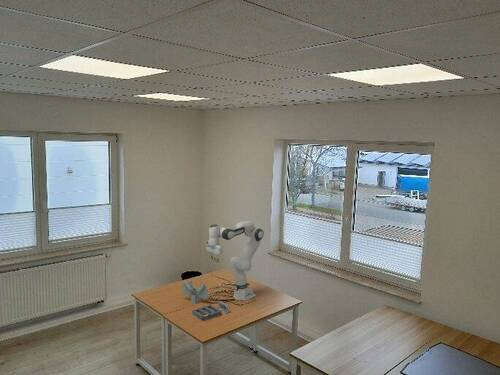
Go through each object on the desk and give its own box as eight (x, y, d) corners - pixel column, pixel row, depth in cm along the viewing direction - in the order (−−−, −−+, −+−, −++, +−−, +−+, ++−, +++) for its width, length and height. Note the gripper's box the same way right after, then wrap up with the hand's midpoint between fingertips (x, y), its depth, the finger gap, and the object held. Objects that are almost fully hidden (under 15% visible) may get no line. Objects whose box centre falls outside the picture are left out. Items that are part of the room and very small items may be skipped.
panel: (220, 308, 350) (220, 300, 349) (228, 312, 341) (228, 305, 340) (218, 309, 349) (218, 301, 348) (226, 313, 339) (226, 306, 339)
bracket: (209, 303, 361) (209, 282, 359) (206, 306, 355) (205, 285, 352) (184, 298, 372) (184, 278, 369) (180, 301, 365) (180, 280, 363)
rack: (210, 308, 350) (210, 304, 349) (221, 314, 337) (221, 310, 336) (192, 314, 338) (192, 309, 338) (202, 321, 325) (202, 316, 324)
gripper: (224, 244, 342) (224, 259, 344) (210, 239, 357) (210, 254, 358) (218, 245, 338) (218, 260, 339) (204, 241, 353) (204, 255, 354)
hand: (214, 257), depth 349 cm, fingers open, 8 cm apart
